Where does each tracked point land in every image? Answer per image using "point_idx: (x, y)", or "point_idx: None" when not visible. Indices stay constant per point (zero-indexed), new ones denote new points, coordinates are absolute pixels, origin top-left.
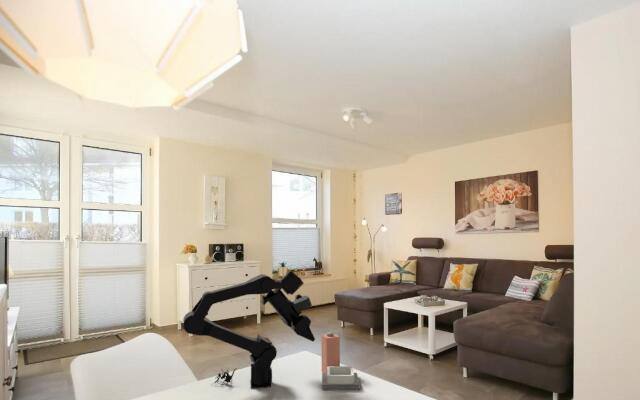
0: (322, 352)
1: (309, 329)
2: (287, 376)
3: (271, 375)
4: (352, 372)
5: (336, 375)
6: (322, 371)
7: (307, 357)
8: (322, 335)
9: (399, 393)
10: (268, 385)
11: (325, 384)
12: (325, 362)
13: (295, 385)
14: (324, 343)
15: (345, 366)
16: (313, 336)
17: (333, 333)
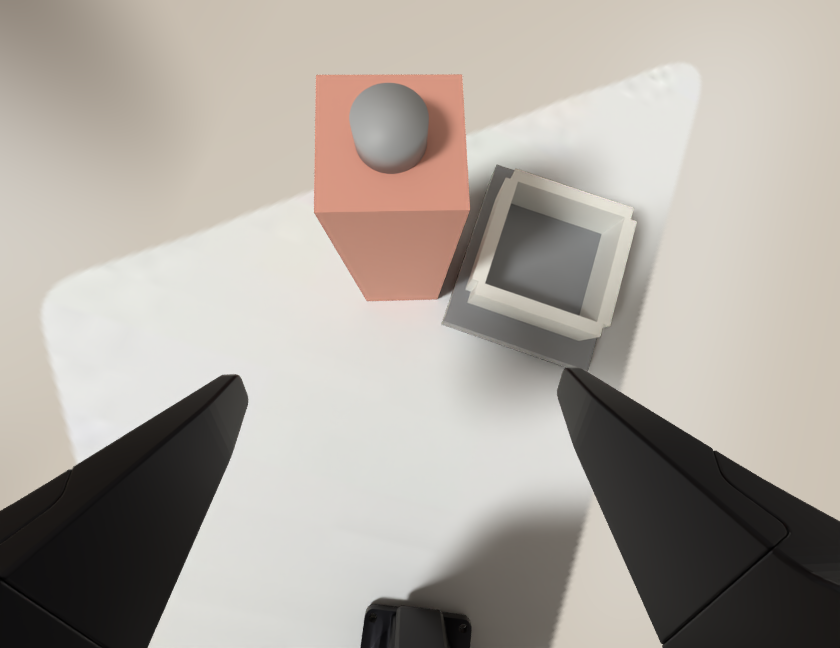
0: (368, 270)
1: (818, 527)
2: (362, 491)
3: (446, 643)
4: (597, 200)
5: (613, 291)
6: (377, 299)
7: (131, 304)
8: (348, 211)
9: (689, 100)
10: (470, 635)
11: (587, 354)
12: (423, 283)
13: (489, 479)
14: (410, 239)
15: (504, 199)
16: (620, 396)
17: (415, 93)
